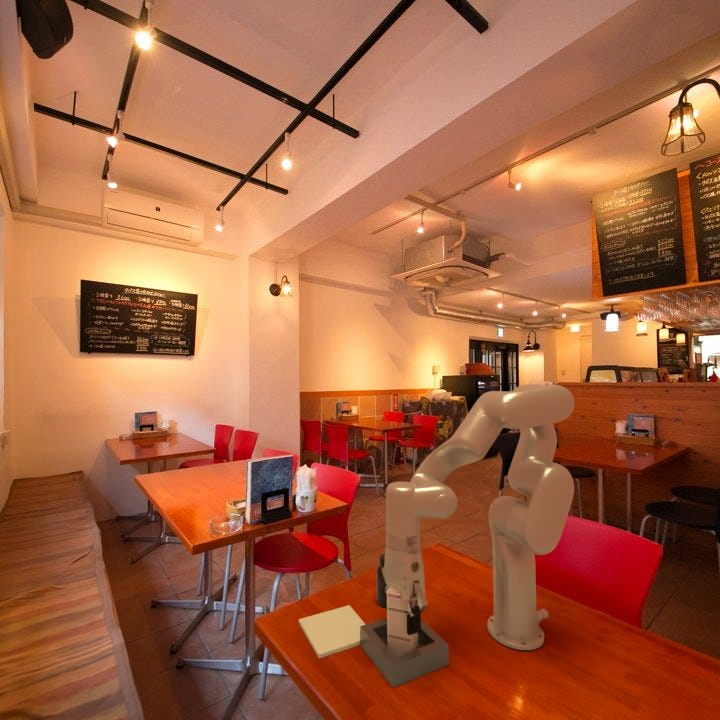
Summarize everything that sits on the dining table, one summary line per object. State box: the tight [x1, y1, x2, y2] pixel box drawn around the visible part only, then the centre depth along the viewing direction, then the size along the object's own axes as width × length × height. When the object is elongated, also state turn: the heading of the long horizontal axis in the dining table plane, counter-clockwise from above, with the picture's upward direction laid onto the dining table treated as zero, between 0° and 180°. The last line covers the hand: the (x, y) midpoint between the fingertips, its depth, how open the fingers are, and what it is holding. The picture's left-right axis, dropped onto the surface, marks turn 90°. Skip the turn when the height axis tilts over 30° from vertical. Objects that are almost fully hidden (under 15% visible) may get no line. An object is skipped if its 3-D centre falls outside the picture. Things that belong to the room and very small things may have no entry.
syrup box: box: [386, 586, 420, 656], centre depth 85 cm, size 6×6×14 cm
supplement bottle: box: [375, 552, 387, 609], centre depth 105 cm, size 7×7×12 cm
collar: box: [359, 617, 450, 688], centre depth 85 cm, size 14×14×4 cm
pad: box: [298, 604, 367, 659], centre depth 92 cm, size 14×14×1 cm
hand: (402, 621), depth 85 cm, fingers closed on syrup box, 7 cm apart
